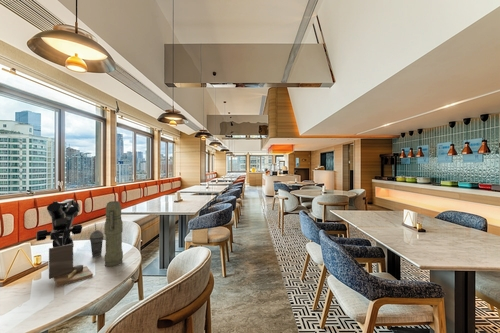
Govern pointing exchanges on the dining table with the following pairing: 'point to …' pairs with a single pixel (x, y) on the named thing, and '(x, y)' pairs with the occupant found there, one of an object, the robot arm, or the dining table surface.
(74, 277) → the dial plate
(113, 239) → the moai statue
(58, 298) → the dining table surface
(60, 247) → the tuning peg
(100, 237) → the beverage cup
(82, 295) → the dining table surface
